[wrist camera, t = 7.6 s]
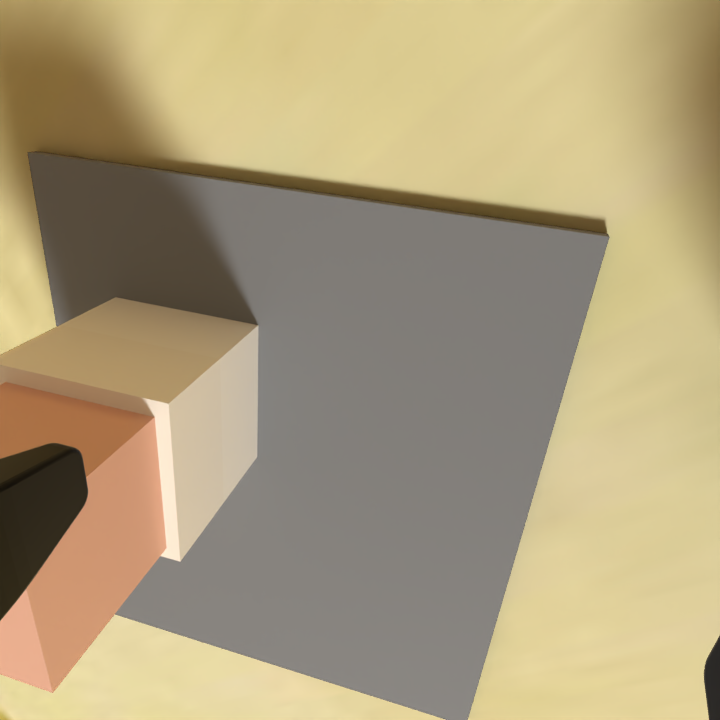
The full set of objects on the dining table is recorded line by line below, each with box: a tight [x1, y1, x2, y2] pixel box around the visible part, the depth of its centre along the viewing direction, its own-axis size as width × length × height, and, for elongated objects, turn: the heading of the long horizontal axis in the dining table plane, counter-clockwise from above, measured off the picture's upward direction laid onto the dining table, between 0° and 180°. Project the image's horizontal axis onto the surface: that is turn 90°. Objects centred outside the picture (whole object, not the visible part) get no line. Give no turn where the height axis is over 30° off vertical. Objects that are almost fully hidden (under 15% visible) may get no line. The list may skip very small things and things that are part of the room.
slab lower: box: [61, 297, 258, 502], centre depth 21 cm, size 6×6×3 cm
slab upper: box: [0, 325, 224, 562], centre depth 19 cm, size 6×6×3 cm
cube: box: [0, 382, 167, 693], centre depth 15 cm, size 5×5×5 cm
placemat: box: [28, 152, 609, 720], centre depth 24 cm, size 20×24×1 cm
